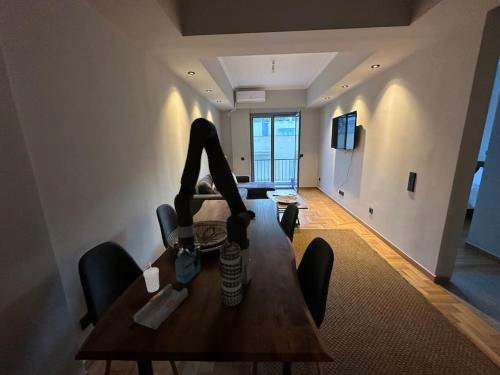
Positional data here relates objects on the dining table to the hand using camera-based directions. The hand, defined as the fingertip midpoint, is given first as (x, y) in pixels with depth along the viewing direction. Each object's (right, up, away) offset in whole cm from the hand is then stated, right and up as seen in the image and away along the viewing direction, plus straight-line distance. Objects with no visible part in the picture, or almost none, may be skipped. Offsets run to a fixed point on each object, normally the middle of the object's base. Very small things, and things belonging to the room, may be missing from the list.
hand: (188, 264), depth 99 cm
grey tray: (-4, -11, -18) cm, 21 cm away
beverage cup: (-13, -9, -7) cm, 18 cm away
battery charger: (+27, +11, +80) cm, 85 cm away
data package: (0, -7, +1) cm, 7 cm away
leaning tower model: (+22, -10, -15) cm, 28 cm away
